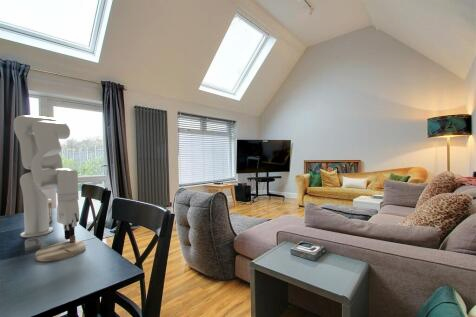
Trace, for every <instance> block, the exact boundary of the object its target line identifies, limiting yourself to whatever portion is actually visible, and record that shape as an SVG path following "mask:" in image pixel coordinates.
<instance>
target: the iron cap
mask: <svg viewBox="0 0 476 317" xmlns="http://www.w3.org/2000/svg"><path fill="white" fill-rule="evenodd" d="M41 244H42V243H41V237H40V236H39V237H38V236H35V237H28V238H27V239H25V240H24V252H25V253H27V252H28V253H33V252H37V251H39V250H40V249H42V247H41V246H42V245H41Z"/></svg>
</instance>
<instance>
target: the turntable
mask: <svg viewBox="0 0 476 317" xmlns="http://www.w3.org/2000/svg"><path fill="white" fill-rule="evenodd" d="M85 248H86V243H85V242H84V241H83V240H76V236H70V239H69V240H68V241H62V242H56V243H54V244H51V245H48V246H45V247H41V249H40V250H37V251H35V254H34V255H35V256H34V257H35V260H36V261H38V262H54V261H59V260H63V259H67V258H70V257H73V256H76V255H78V254H80V253H81V252H83V251H84V250H85Z"/></svg>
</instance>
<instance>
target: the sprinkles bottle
mask: <svg viewBox="0 0 476 317" xmlns="http://www.w3.org/2000/svg"><path fill="white" fill-rule="evenodd" d="M52 203H53V200H52V199H51V198H48V207H49V217H50V222H53V207H52V206H53V205H52Z"/></svg>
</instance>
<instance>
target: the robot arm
mask: <svg viewBox="0 0 476 317" xmlns="http://www.w3.org/2000/svg"><path fill="white" fill-rule="evenodd" d="M70 130H71V129H70V127H69V125H68V124H67V123H66V122H63V121H62V120H61V119H59V118H54V117H47V116H38V115H36V116H35V115H28V114H27V115H24V114H23V115H18V116H16V117H15V118H14V120H13V131H14V134H15V135H16V138H17V139H18V142H19V147H20V155H21V163H22V166H23V168H24V169H26V170H31V172H27V173H24V174H23V175H21V176H20V178H19V185H20V187H21V191H22V201H23V202H22V203H23V221H24V222H23V223H24V231H23V232H21V233H20V237H21V238H32V237H38V236H39V237H40V236H43V235H46V234H50V233H51V232H53V231H54V228H53V227H52V226H50V223H49V207H48V199H49V198H48V195H47V194H46V193H44V192H43V191H44V190H52V189H56V193H57V196H56V197H57V209H56V221H57V223H59V224H62V225H63V230H64V240H68V241H69V240H70V236H75V233H76V232H75V229H76V227H77V226H78V224H77V223H79V222H80V208H79V207H80V206H79V177H78V175H79V174H78V171H77V170H76V169H73V168H71V169H70V168H64V167H63V159H62V156H61V154H60V153H61V151H62V149H63V148H62V146H61V142H60V140H67V139H68V138H69V137H70V134H71V131H70ZM59 139H60V140H59ZM75 237H76V236H75Z"/></svg>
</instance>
